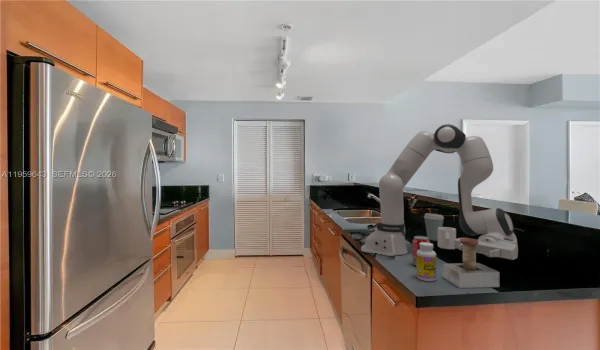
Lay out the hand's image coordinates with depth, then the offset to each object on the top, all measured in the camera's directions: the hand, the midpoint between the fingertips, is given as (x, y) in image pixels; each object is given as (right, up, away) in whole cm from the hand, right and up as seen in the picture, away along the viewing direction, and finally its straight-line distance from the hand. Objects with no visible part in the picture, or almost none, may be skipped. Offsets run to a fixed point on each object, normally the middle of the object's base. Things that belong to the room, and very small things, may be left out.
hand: (474, 250), depth 100 cm
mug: (+13, -11, +43) cm, 46 cm away
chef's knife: (+9, -11, +19) cm, 24 cm away
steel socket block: (-3, -10, -2) cm, 11 cm away
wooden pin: (-3, -9, -2) cm, 10 cm away
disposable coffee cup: (+16, -11, +62) cm, 65 cm away
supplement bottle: (-17, -11, +1) cm, 20 cm away
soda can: (-12, -11, +16) cm, 23 cm away
